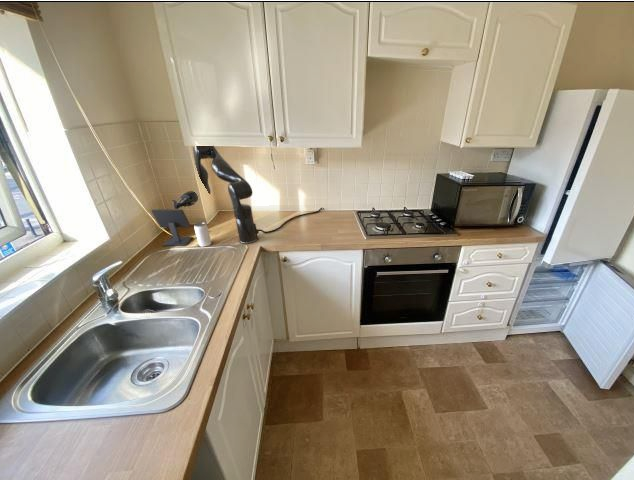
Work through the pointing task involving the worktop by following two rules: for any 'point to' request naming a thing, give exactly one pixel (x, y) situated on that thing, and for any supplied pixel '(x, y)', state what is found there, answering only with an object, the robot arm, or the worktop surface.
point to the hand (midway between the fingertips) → (175, 207)
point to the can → (202, 234)
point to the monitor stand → (176, 237)
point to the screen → (171, 217)
